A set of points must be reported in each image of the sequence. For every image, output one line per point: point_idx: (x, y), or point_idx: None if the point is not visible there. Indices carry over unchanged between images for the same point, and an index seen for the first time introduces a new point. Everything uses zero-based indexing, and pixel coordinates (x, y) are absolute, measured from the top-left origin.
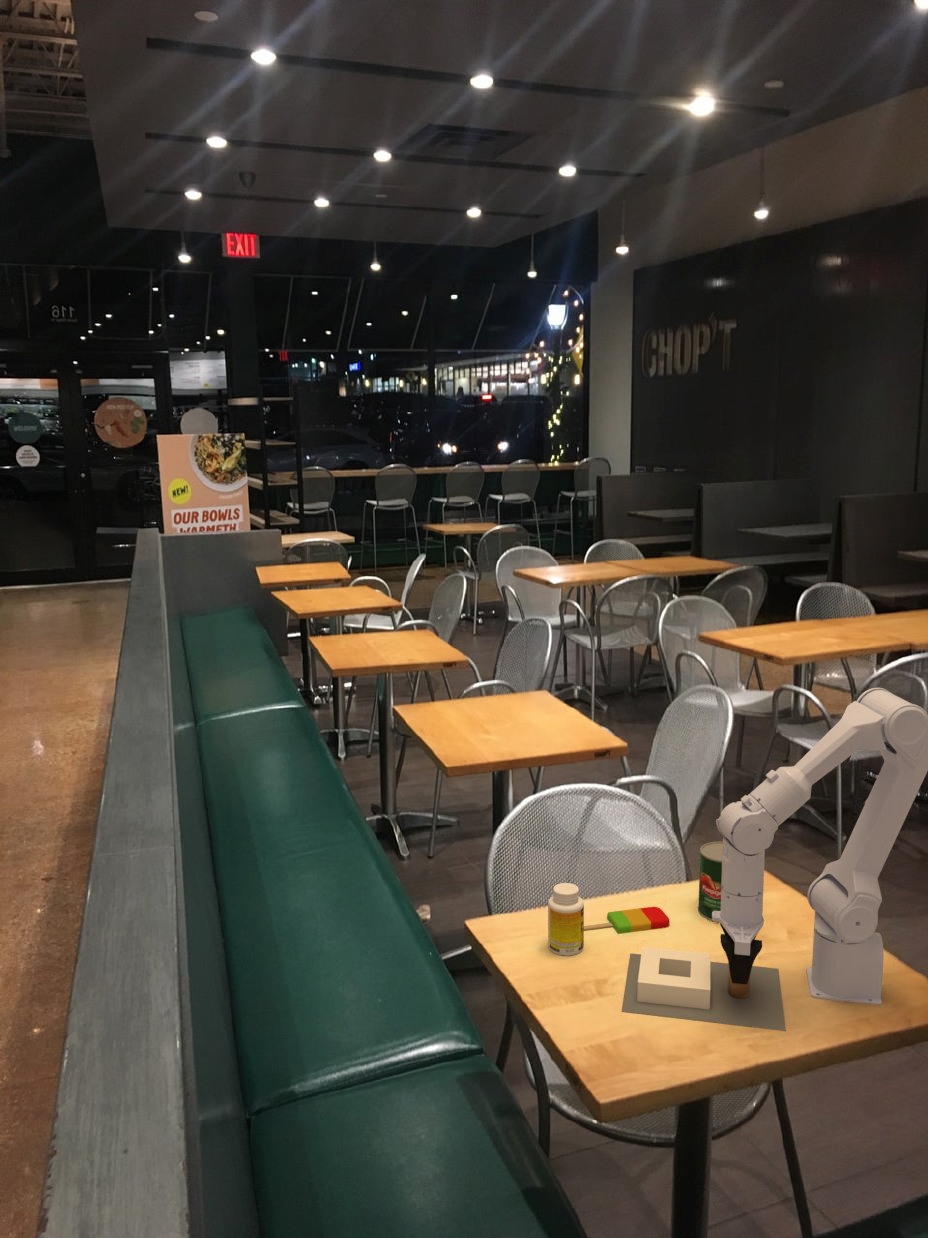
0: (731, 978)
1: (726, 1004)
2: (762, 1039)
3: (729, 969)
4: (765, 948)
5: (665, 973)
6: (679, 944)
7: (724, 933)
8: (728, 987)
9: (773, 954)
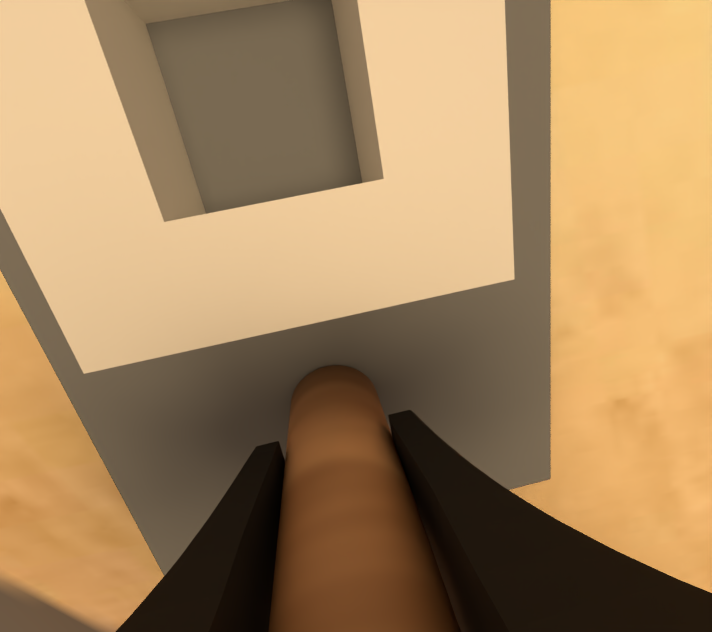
0: (246, 462)
1: (227, 380)
2: (82, 525)
3: (218, 505)
4: (685, 408)
5: (338, 23)
6: (698, 50)
7: (502, 613)
8: (313, 384)
9: (648, 438)
